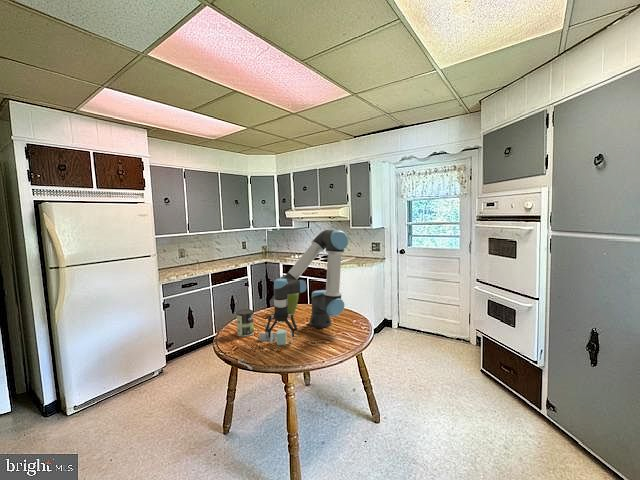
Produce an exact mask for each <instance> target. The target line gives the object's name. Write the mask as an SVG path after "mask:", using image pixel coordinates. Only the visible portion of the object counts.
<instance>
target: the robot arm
mask: <svg viewBox="0 0 640 480" xmlns="http://www.w3.org/2000/svg"><path fill="white" fill-rule="evenodd" d="M348 243H349V238H348V235H347V234H346V232H344V231H342V230H339V229H325V230H322V231H320V233H319V234H318V235H317V236H316V237H315V238H314V239H313V240H312V241H311V243H310V244H311V245H309V247H308V248H307V249H306V250H305V252H304V253H303V254H302V255H301V257H299V259H298V260H297V261H296V262H295V263H294V265H293V266H292V267H291V268H290V269H289V271H288V272H287V273H286V274H285V275H282V276H280V277H279V278H276V279H275V280H274V281H273V296H274V297H273V303H274V313H273V314H271V313H270V314H269V315H268V320H267V321H268V322H267V323H266V324H267V327H266V330H265V329H264V330H265V331H266V332H268V333H269V338H270V339H271V341H270V344H271V345H272V344H273V341H272V333H273V329H274V327H276V324H277V322H278V323H285V324H286V325H287V327H288V328H289V329H290V344H293V338H294V337H295V332H296V331H297V332H298V326H297V324H296V322H295V319H294V314H288V308H287V295H289V294H296V293H299V294H302V293H305V292H306V290H307V283H306V281H305V280H304V279H299V278H300V277H301V276H302V275H303V273H304V272H305V271H306V270H307V269H308V267H309V266H310V265H311V264H312V262H313V261H314V260H315V259H316V258H317V256H318V255H319V254H320V253H321V252H324V250H325V252H326V253H327V264H326V265H327V266H326V283H325V289H321V290H314V291H312V292H311V297H310V298H311V315H310V316H309V317H310V318H309V321H308V323H309V326H310V327H313V328H318V329H319V328H320V329H324V327H325V328H328V326H329V327H331V326H332V324H331V323H332V317H337V316H339V315H341V314H342V313H343V311H344V309H345V302H344V300H343V299H342V293H341V292H340V286H341V285H340V283H341V269H342V268H341V266H342V254H343V253H344V252H345V249H346V248H347V246H348ZM298 279H299V280H298ZM331 316H332V317H331ZM288 317H289V319H290V320H289V319H288ZM273 318H274V322H273V323H272V325H271V320H272V319H273ZM290 321H291V322H290ZM269 324H270V329H268V327H269Z"/></svg>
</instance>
